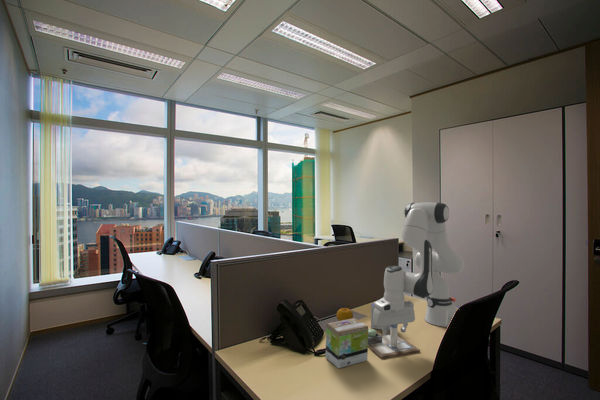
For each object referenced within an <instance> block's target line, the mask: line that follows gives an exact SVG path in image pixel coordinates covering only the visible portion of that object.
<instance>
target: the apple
mask: <svg viewBox="0 0 600 400" xmlns="http://www.w3.org/2000/svg"><path fill="white" fill-rule="evenodd" d="M336 318H337V321H342V320H347V319H352V318H354V313H353V312H352V310H351V309H349V308H348V307H341V308H340V309H338V310H337V312H336Z"/></svg>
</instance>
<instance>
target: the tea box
mask: <svg viewBox="0 0 600 400" xmlns="http://www.w3.org/2000/svg"><path fill="white" fill-rule="evenodd" d="M368 329H369V325H367V324H365V323H364V322H362V321H360V320H358V319H357V318H355V317H353V318H352V319H347V320H342V321H338V320H337V321H332V322H327V323H326V330H325V331H326V332H325V358H326V359H327V360H328V361H329V362H330V363H331V364H332V365H334V366H335V368H337V369H341V368H344V367H349V366H353V365H355V364H358V363H362V362H367V361H368V354H369V353H368V352H369V351H368V350H369V348H368Z"/></svg>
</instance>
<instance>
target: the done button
mask: <svg viewBox="0 0 600 400" xmlns="http://www.w3.org/2000/svg"><path fill="white" fill-rule="evenodd" d="M376 332H377V329H375V328H368V336H369V337H374V336H376Z"/></svg>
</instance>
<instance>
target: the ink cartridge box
mask: <svg viewBox="0 0 600 400" xmlns="http://www.w3.org/2000/svg"><path fill="white" fill-rule="evenodd" d="M380 299H381V298H380ZM380 299H379V298H378V299H377V301H378V300H380ZM375 308H376V307H375V306H374V302H372V303H371V305H370V318H371V319H370V329H374V330H381V331H383V330H382V329H381V327H377V326H376V325H374V323H373V311H374V309H375ZM385 330H386V331H388V332H390V326H386V328H385Z"/></svg>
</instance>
